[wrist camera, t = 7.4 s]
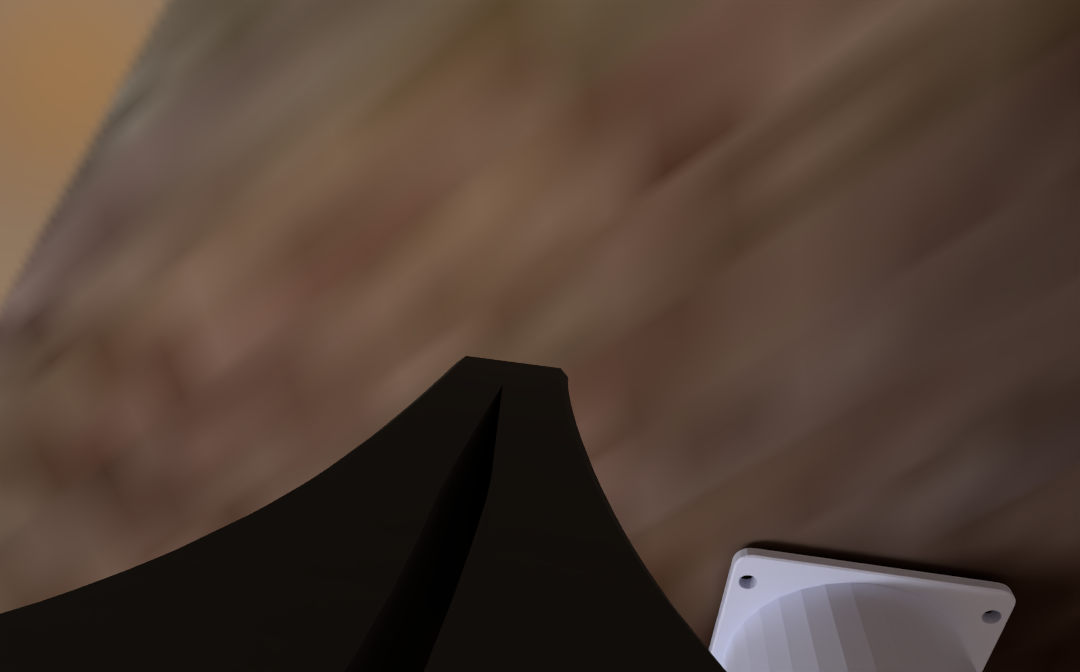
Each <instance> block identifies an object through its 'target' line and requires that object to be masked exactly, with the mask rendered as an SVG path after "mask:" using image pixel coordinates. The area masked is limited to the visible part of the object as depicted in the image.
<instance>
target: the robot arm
mask: <svg viewBox="0 0 1080 672" xmlns="http://www.w3.org/2000/svg"><path fill="white" fill-rule="evenodd" d="M745 575H750V576H753V577H752V578H750V579H743V578H741V577H743V576H745ZM1015 602H1016V600H1015V597H1014V595H1013V593H1012V591H1011V590H1010V588H1009V587H1008V586H1006V585H1005V584H1002V583H998V582H991V581H984V580H977V579H969V578H962V577H955V576H948V575H941V574H934V573H927V572H920V571H913V570H906V569H899V568H891V567H884V566H877V565H870V564H863V563H856V562H849V561H842V560H835V559H828V558H821V557H814V556H806V555H799V554H792V553H785V552H778V551H771V550H764V549H757V548H745V549H742V550H740V551H738V552H737V553H736V554H735V555H734V557H733V560H732V563H731V567H730V571H729V575H728V579H727V582H726V586H725V590H724V594H723V598H722V601H721V605H720V609H719V613H718V617H717V620H716V624H715V628H714V632H713V636H712V639H711V643H710V647H709V650H708V649H707V647H706V646H705V645H704V644H703V642H702V641H701V640H700V639H699V637H698V636H697V635H696V634H695V633H694V631H693V630H692V629H691V628H690V626H689V625H688V624H687V623H686V621H685V620H684V619H683V618H682V617H681V615H680V614H679V613H678V612H677V610H676V609H675V608H674V607H673V605H672V604H671V603H670V601H669V600H668V598H667V597H666V596H665V594H664V593H663V591H662V590H661V588H660V587H659V585H658V584H657V583H656V581H655V580H654V578H653V577H652V575H651V574H650V573H649V571H648V570H647V568H646V566H645V565H644V563H643V562H642V560H641V559H640V557H639V555H638V554H637V552H636V551H635V549H634V547H633V546H632V544H631V543H630V541H629V539H628V537H627V536H626V534H625V532H624V530H623V529H622V527H621V525H620V523H619V521H618V520H617V518H616V516H615V514H614V512H613V510H612V508H611V506H610V504H609V502H608V500H607V498H606V496H605V494H604V492H603V490H602V488H601V486H600V484H599V481H598V479H597V477H596V475H595V472H594V470H593V468H592V465H591V463H590V460H589V457H588V455H587V452H586V450H585V447H584V445H583V442H582V440H581V437H580V434H579V431H578V428H577V425H576V421H575V418H574V414H573V411H572V407H571V402H570V397H569V391H568V377H567V376H566V374H565V373H564V372H563V371H562V369H561V368H554V367H546V366H539V365H531V364H523V363H516V362H508V361H500V360H493V359H485V358H478V357H470V356H465V357H464V358H463V359H461V360H460V361H458V362H457V363H456V364H455V365H454V366H453V367H452V368H450V369H449V370H448V371H447V372H446V373H445V374H444V375H443V376H442V377H441V378H440V379H439V380H438V381H436V382H435V383H434V384H433V385H432V386H431V387H430V388H429V389H428V390H427V391H425V392H424V393H423V394H422V395H421V396H420V397H419V398H418V399H416V400H415V401H414V402H413V403H412V404H411V405H409V406H408V407H407V408H406V409H405V410H403V411H402V412H401V413H400V414H399V415H397V416H396V417H395V418H394V419H393V420H391V421H390V422H389V423H388V424H387V425H385V426H384V427H383V428H382V429H380V430H379V431H378V432H377V433H375V434H374V435H373V436H372V437H370V438H369V439H368V440H366V441H365V442H363V443H362V444H361V445H359V446H358V447H357V448H355V449H354V450H352V451H351V452H350V453H348V454H347V455H346V456H344V457H343V458H341V459H340V460H339V461H337V462H336V463H335V464H333V465H332V466H330V467H329V468H328V469H326V470H325V471H323V472H322V473H320V474H319V475H317V476H315V477H314V478H312V479H311V480H309V481H308V482H306V483H305V484H303V485H301V486H300V487H298V488H296V489H294V490H293V491H291V492H289V493H287V494H286V495H284V496H282V497H281V498H279V499H277V500H275V501H274V502H272V503H270V504H268V505H267V506H265V507H263V508H261V509H259V510H257V511H255V512H254V513H252V514H250V515H248V516H246V517H243V518H241V519H239V520H237V521H235V522H233V523H231V524H229V525H227V526H225V527H223V528H221V529H219V530H216V531H214V532H212V533H210V534H208V535H206V536H204V537H202V538H200V539H198V540H196V541H194V542H191V543H189V544H187V545H185V546H183V547H181V548H179V549H177V550H174V551H172V552H170V553H167V554H165V555H163V556H160V557H158V558H155V559H153V560H151V561H148V562H146V563H143V564H141V565H138V566H136V567H133V568H131V569H129V570H126V571H124V572H121V573H118V574H116V575H113V576H110V577H108V578H105V579H102V580H100V581H97V582H94V583H91V584H89V585H86V586H83V587H81V588H78V589H75V590H73V591H70V592H67V593H64V594H61V595H58V596H55V597H52V598H49V599H46V600H44V601H41V602H37V603H34V604H31V605H28V606H24V607H21V608H18V609H15V610H11V611H8V612H5V613H2V614H0V672H982V671H983V669H984V667H985V665H986V663H987V661H988V659H989V657H990V655H991V653H992V651H993V649H994V647H995V645H996V643H997V641H998V639H999V637H1000V635H1001V633H1002V631H1003V629H1004V627H1005V624H1006V622H1007V620H1008V618H1009V616H1010V614H1011V612H1012V610H1013V608H1014V606H1015ZM991 610H994V611H992V612H990V613H985V612H987V611H991Z"/></svg>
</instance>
